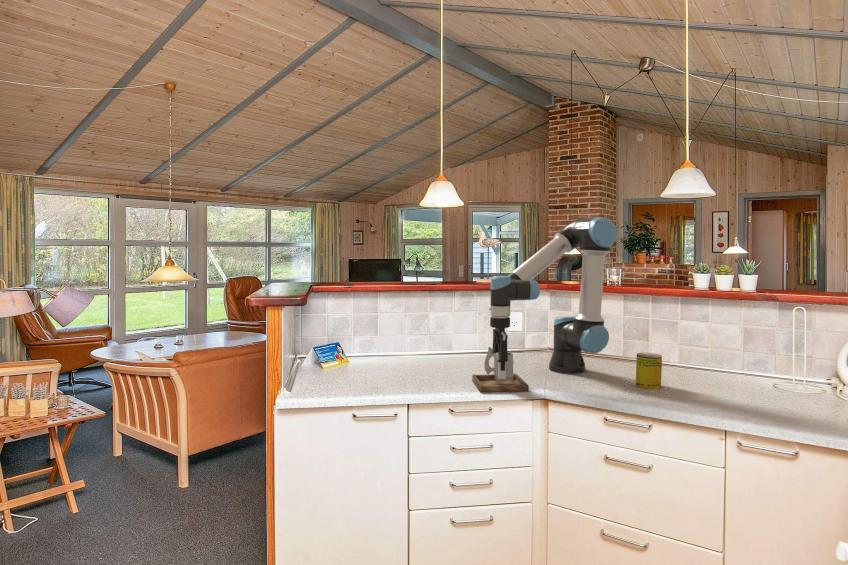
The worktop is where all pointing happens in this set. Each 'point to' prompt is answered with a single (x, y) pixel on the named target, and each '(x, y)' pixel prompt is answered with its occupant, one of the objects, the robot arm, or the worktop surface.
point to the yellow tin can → (648, 370)
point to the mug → (488, 369)
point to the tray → (499, 384)
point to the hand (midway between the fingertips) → (499, 375)
